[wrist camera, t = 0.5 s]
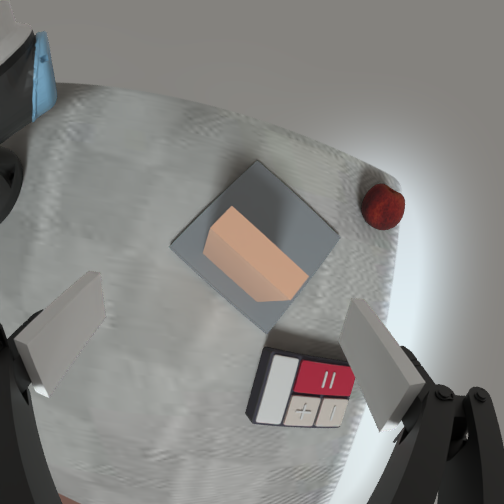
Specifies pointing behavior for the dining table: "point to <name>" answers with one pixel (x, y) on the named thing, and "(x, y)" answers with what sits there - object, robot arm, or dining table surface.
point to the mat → (272, 226)
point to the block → (252, 259)
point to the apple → (383, 207)
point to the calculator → (299, 390)
